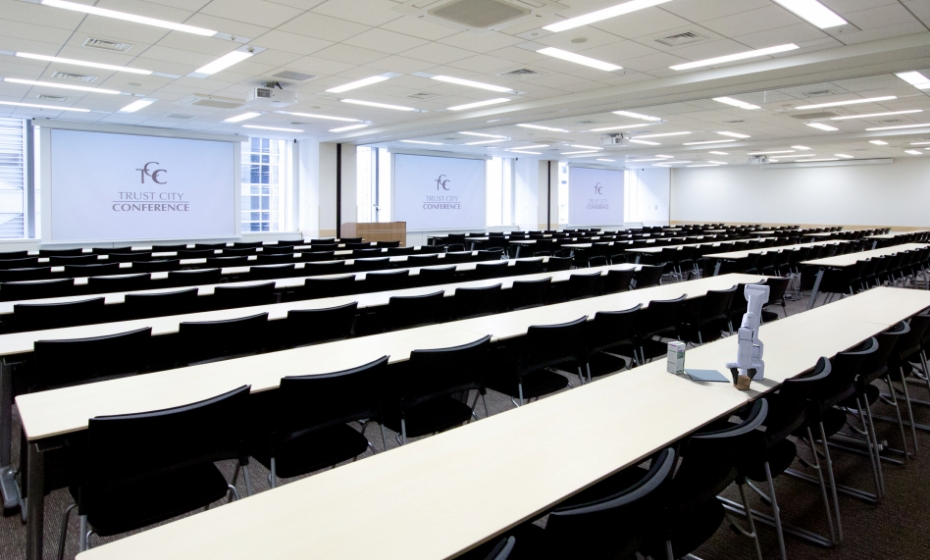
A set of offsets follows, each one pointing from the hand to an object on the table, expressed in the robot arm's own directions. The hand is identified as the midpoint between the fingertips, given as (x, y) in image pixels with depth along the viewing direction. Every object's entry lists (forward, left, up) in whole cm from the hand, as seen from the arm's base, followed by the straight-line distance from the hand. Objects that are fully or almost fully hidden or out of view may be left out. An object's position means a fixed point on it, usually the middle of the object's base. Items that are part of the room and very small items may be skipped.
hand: (741, 384), depth 257 cm
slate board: (+10, -16, -2) cm, 19 cm away
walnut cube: (0, 0, -1) cm, 1 cm away
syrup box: (+23, -20, -2) cm, 31 cm away
